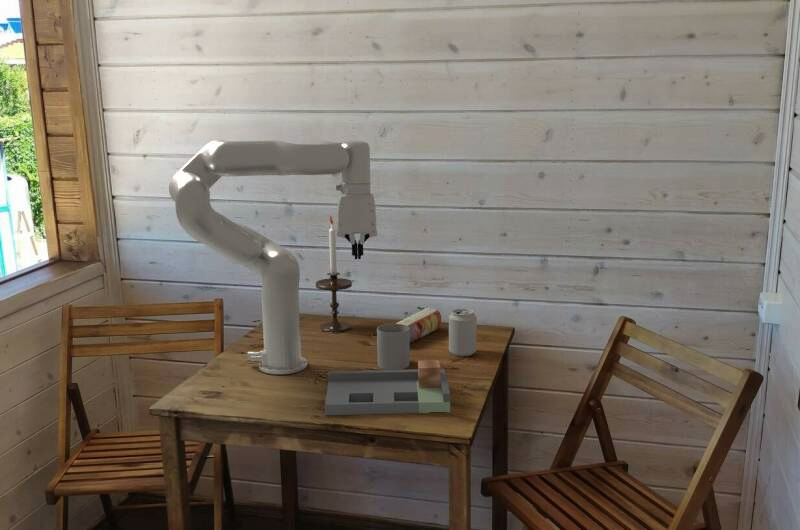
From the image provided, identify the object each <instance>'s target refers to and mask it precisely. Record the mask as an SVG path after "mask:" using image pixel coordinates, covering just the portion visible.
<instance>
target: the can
mask: <svg viewBox="0 0 800 530" xmlns="http://www.w3.org/2000/svg"><path fill="white" fill-rule="evenodd" d="M477 322H478V321H477V316H476V314H475V311H474V310H473V309H470V308H455V309H453V310H451V314H450V315H449V316H448V352H450V353H451V355H453V356H456V357H460V358H461V357H463V358H464V356H466V357H470V356H473V355H474V354H475V353H476V352H477ZM472 354H473V355H472Z"/></svg>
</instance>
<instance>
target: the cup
mask: <svg viewBox="0 0 800 530" xmlns="http://www.w3.org/2000/svg"><path fill="white" fill-rule="evenodd" d="M376 341H377V342H376V343H377V344H376V345H377V347H376V348H377V350H376V351H377V366H378V368H380V369H381V370H406V369H407V368H409V367H410V364H411V355H410V354H411V353H410V351H411V350H410V343H411V342H410V340H409V327H408V326H406V325H403V324H396V323H385V324H382V325H379V326H378V327H376Z"/></svg>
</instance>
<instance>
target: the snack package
mask: <svg viewBox="0 0 800 530" xmlns="http://www.w3.org/2000/svg"><path fill="white" fill-rule="evenodd" d="M395 324H403V325H406V326H408V327H409V340H410V343H412V342H414V341H417V340H419V339H422V338H423V337H425V336H427V335H429V334H430V333H433V332H436V331H439V329H440V328H441V324H442V314H441V312H440V311H439V309H436V308H431V307H426V308H423V309H422V310H420V311H418V312H416V313H413V314H412V315H410V316H408V317H405V318H404V319H401V320H400V321H398V322H396V323H395Z"/></svg>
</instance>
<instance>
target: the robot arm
mask: <svg viewBox="0 0 800 530" xmlns="http://www.w3.org/2000/svg"><path fill="white" fill-rule="evenodd" d="M370 151H371V149H370V145H369V143H368V142H365V141H361V140H360V141H359V140H358V141H357V140H354V141H353V140H351V141H344V142H334V141H333V142H332V141H320V142H319V141H318V142H316V143H315V144H314V143H313V144H311V143H310V144H307V143H292V142H286V141H279V140H247V141H246V140H239V141H238V140H237V141H236V140H234V141H233V140H232V141H230V140H229V141H228V140H223V139H214V140H212V141H210V142H208V143H207V144H205V145H204V146H203V147H202V148H201V149H200V150H199V151H198V152H197V153H196V154H195V155H194V156H193V157H192V158H191V159H190V160H188V161H187V163H185V164H184V165H183V166H182V168H180V169H179V170H178V171H177V172H176V173H175V174H174V175H173V177H172V178H171V180H169V181H170V182H169V183H168V184H169V185H168V192H169V195H170V197H171V199H172V201H174V203H175V204H174V205H175V214H176V217H177V220H178V223H179V225H180V227H181V228H182V229H183V230H184V232H185V233H186V234H187V235H189V237H191V238H193V239H194V240H196V241H198V242H199V243H201V244H203V245H204V246H206V247H207V248H209V249H210V250H213V251H214V252H216V253H218V254H219V255H221V256H223V257H224V258H226V259H227V261H228V260H229V261H230V262H231V263H233V264H236V265H240V266H243V267H244V268H246V269H248V270H250V271H252V272H254V273H255V274H257V275H258V276H259V277H261V281H262V282H261V295H260V296H261V312H262V313H261V316H262V318H261V319H262V331H263V332H262V334H263V337H262V338H263V349H261V350H259V351H247V359H248V360H250V361H251V362H259V363H258V369H259V370H260V371H261V372H262V373H265V374H270V375H289V374H294V373H295V374H296V373H299V372H301V371H303V370H305V369H306V368H307V367H308V360H307V358H305V357H303V356H302V347H301V326H300V324H301V323H300V322H301V321H300V300H299V299H300V298H299V291H300V280H301V279H300V277H301V269H300V265H299V261H298V259H297V258H296V256H295V255H294V254H293V253H292V252H291V251H290V250H288V249H287V248H285V247H283V246H281V244H278V243H276V242H275V241H273V240H272V239H270V238H268V237H266V236H264V235H262V234H261V233H259V232H258V231H256V230H254V229H252V228H251V227H249V226H247V225H245V224H244V223H239V222H235V221H233V220H231V219H229V218H227V216H225V215H223V214H221V213H219V212H218V211H216V210H215V209H214V208H213V207H212V204H211V199H210V198H211V196H210V195H211V194H210V193H211V191H210V189H211V188H212V187H213V186H214V185H215V184H216V183H217V182H218V181H219V180H220V179H221V178H222V177H251V176H252V177H256V176H262V177H264V176H280V177H281V176H283V177H284V176H320V175H322V176H323V175H325V176H326V175H328V176H329V175H338V174H341V180H340V182H341V183H340V184H339V185H338V184H337V185H336V186H335V191H339V192H340V193H341V194H339V195H338V199H337V200H338V201H337V209H336V210H337V212H336V214H337V215H336V218H337V221H336V223H337V232H336V236H337V237H338V238H343V239H346V240H347V241H348V243H349V244H351V256H352V257H353V256H354V260H361V258H362V256H364V243H365V242H366V241H367V240H369V239H370V238H374V237H377V236H378V229H377V212H376V209H377V208H376V200H375V195H374V193H372V191H371V154H370V153H371V152H370ZM356 234H358V235H359V234H360V235H359V240H358V241H357V240H356V236H355V235H356Z"/></svg>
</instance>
